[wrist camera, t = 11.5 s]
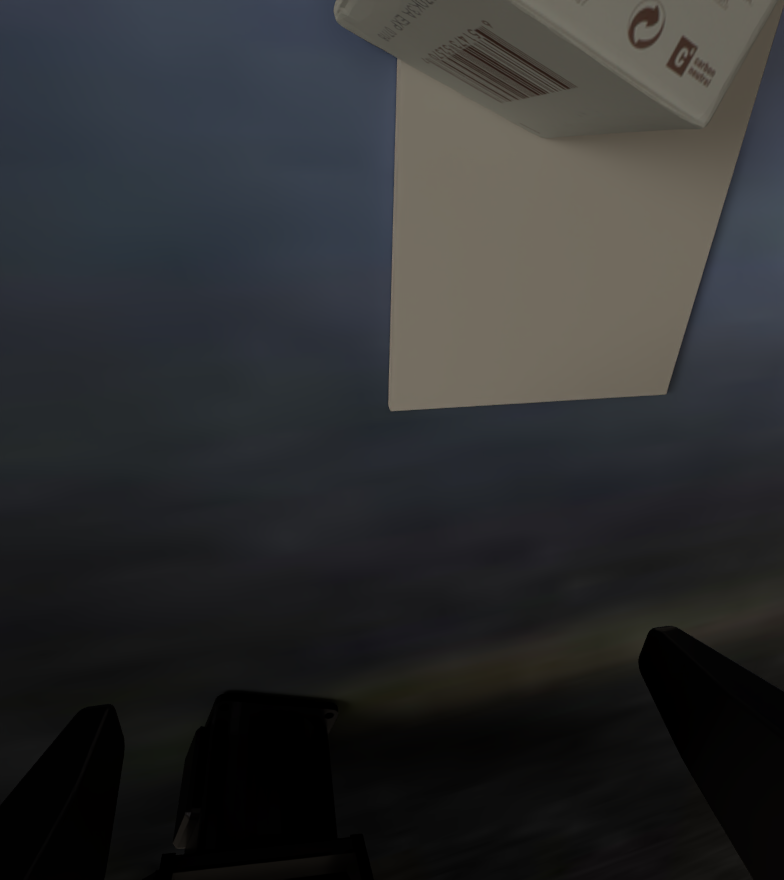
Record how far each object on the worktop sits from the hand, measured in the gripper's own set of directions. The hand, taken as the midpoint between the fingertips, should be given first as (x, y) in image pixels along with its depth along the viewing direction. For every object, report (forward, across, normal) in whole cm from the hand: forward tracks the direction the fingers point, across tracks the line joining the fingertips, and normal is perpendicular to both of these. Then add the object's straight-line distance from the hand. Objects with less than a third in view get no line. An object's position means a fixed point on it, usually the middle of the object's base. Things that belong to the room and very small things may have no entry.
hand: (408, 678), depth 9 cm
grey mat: (+12, -8, -9) cm, 17 cm away
